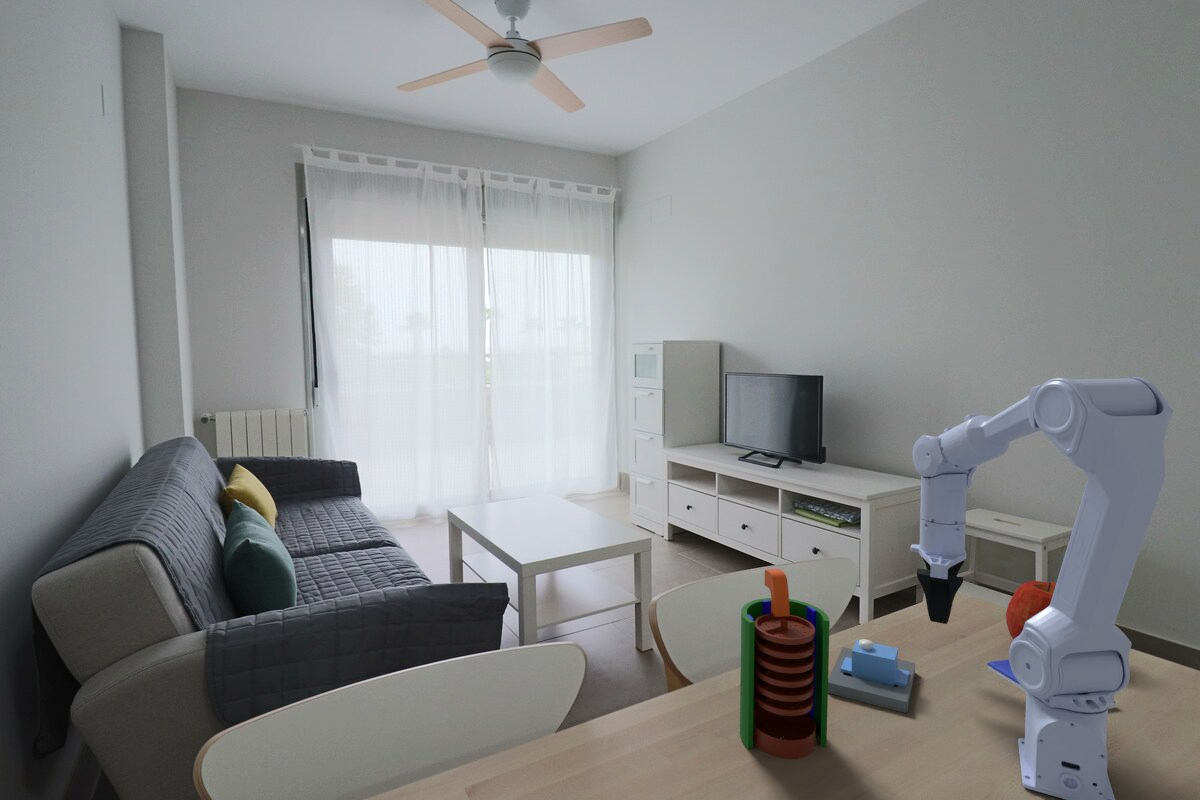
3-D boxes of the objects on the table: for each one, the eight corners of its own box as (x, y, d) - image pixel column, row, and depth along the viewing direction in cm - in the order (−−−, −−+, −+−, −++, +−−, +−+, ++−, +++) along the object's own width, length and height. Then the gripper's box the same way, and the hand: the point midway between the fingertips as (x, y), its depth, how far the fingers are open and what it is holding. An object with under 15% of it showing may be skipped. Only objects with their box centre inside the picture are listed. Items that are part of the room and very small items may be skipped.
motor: (761, 766, 71) (762, 595, 70) (725, 722, 80) (725, 569, 78) (838, 750, 74) (840, 585, 72) (795, 709, 82) (796, 561, 81)
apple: (1040, 666, 93) (1043, 596, 92) (988, 634, 104) (990, 571, 103) (1106, 661, 94) (1110, 593, 93) (1048, 630, 105) (1051, 568, 104)
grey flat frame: (906, 713, 81) (907, 702, 81) (826, 692, 86) (826, 682, 86) (914, 672, 91) (915, 662, 91) (842, 656, 96) (842, 647, 96)
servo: (906, 698, 85) (906, 657, 84) (840, 682, 89) (840, 642, 89) (908, 685, 88) (909, 645, 88) (845, 670, 92) (845, 632, 92)
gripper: (915, 505, 97) (913, 590, 98) (906, 528, 85) (904, 624, 86) (968, 510, 94) (965, 598, 95) (966, 535, 81) (963, 636, 82)
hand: (940, 612), depth 90 cm, fingers open, 7 cm apart
